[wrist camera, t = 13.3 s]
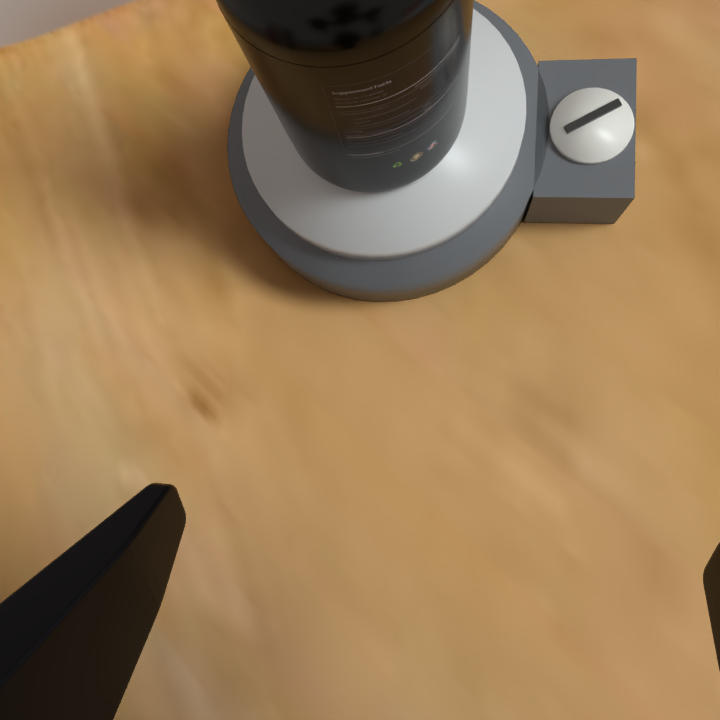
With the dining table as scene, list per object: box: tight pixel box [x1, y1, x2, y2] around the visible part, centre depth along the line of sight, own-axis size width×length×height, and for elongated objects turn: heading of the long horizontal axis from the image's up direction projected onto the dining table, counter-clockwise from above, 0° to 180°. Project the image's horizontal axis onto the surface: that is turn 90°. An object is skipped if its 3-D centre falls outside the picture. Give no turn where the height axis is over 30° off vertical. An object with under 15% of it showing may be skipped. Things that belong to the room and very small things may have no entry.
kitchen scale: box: [227, 1, 637, 302], centre depth 23 cm, size 13×16×4 cm
